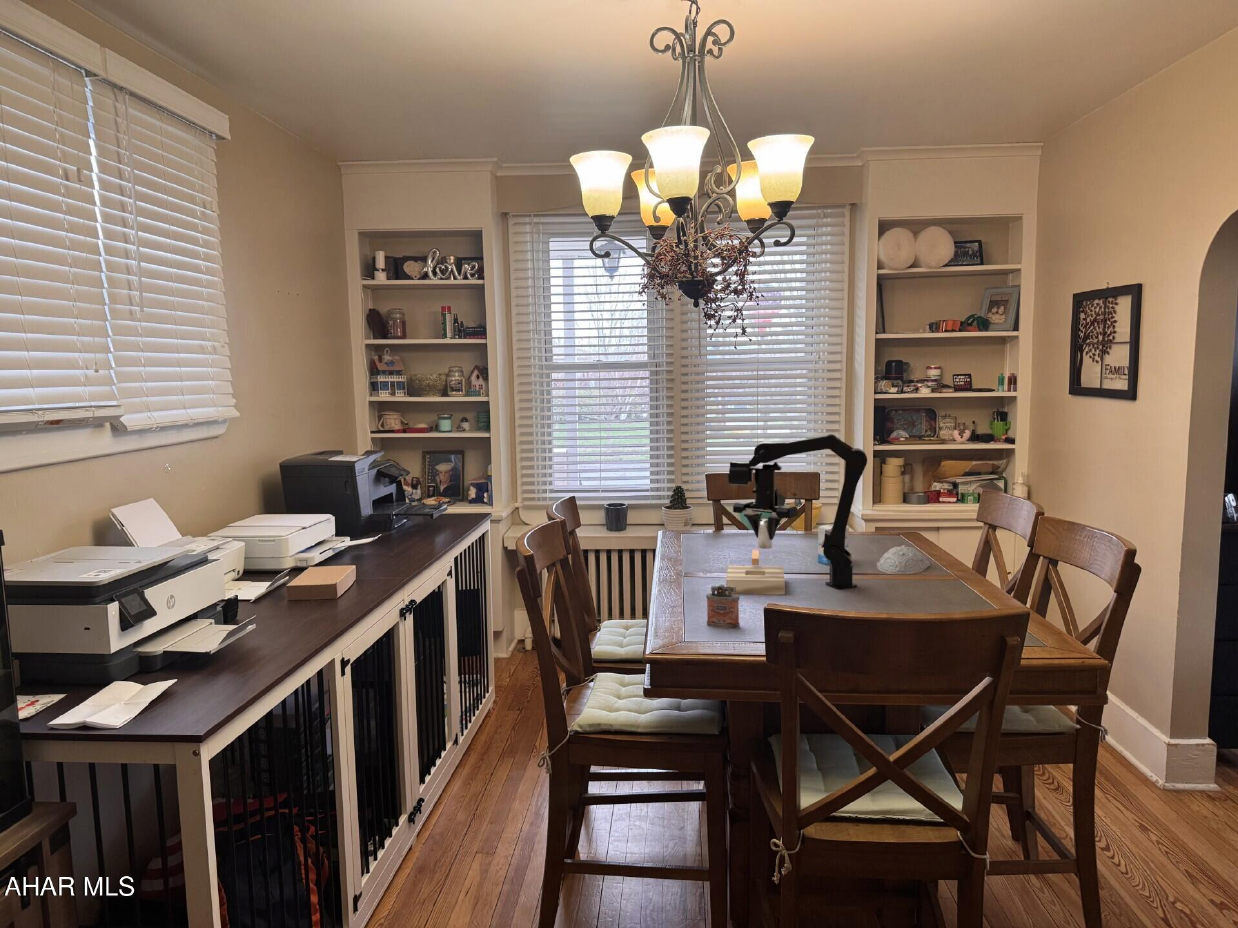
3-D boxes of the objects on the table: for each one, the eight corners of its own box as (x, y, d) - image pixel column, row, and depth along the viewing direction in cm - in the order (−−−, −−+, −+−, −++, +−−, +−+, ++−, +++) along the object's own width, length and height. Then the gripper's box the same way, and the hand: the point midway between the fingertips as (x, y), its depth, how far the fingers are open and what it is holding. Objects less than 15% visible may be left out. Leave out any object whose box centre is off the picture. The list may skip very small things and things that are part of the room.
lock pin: (758, 565, 234) (758, 558, 234) (751, 565, 234) (751, 558, 234) (758, 556, 246) (758, 549, 245) (752, 556, 246) (752, 549, 246)
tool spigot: (774, 547, 228) (774, 520, 227) (762, 549, 227) (762, 521, 226) (767, 545, 232) (767, 518, 231) (755, 546, 231) (755, 519, 230)
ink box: (827, 565, 249) (827, 528, 248) (817, 562, 254) (817, 525, 252) (849, 562, 252) (849, 525, 251) (838, 559, 257) (839, 523, 256)
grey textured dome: (932, 557, 255) (930, 537, 254) (925, 579, 232) (923, 557, 232) (882, 558, 262) (880, 539, 261) (871, 580, 239) (868, 559, 239)
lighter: (705, 626, 192) (704, 586, 191) (708, 622, 195) (708, 582, 194) (737, 629, 189) (737, 588, 188) (740, 624, 192) (740, 584, 191)
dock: (784, 594, 217) (784, 580, 217) (726, 593, 220) (726, 579, 220) (782, 579, 233) (782, 566, 233) (728, 578, 236) (728, 565, 235)
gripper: (807, 484, 227) (807, 537, 229) (752, 480, 240) (752, 530, 241) (788, 489, 219) (788, 544, 221) (731, 484, 231) (732, 536, 233)
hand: (765, 538), depth 229 cm, fingers closed on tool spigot, 4 cm apart
